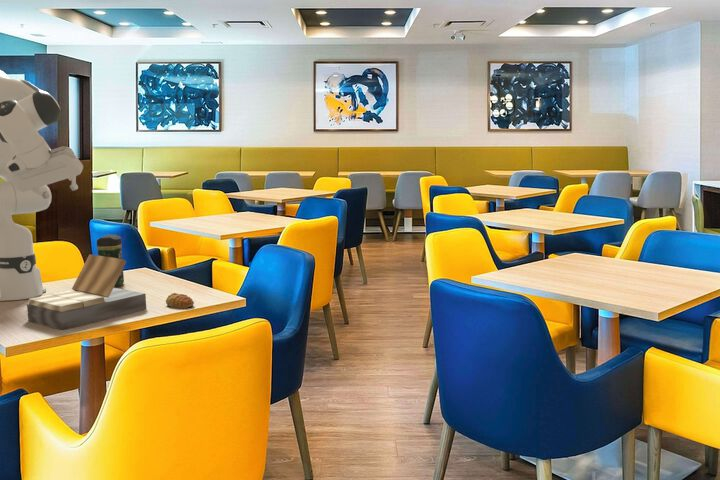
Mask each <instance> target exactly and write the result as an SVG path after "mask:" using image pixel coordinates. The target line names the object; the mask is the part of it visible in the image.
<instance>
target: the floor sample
mask: <svg viewBox="0 0 720 480" xmlns="http://www.w3.org/2000/svg"><path fill="white" fill-rule="evenodd" d="M145 310H147V295H146V292H140V291H139V292H138V291H134V290H128V289H123V288H117V287H114V288H113V290H112V292H111V294H110V296H109V298H107V297H103V296H98V295H93V294H88V293H83V292H78V291H75V290H73V289H71V290H67V291H61V292H55V293H51V294H47V295H40V296H36V297H32V298H28V304H26V312H27V321H28V322H30V323H34V324H39V325H42V326H46V327H49V328H52V329H57V330H59V331H65V330H68V329H73V328H76V327H80V326H85V325H89V324H92V323H97V322H101V321H105V320H109V319H112V318H117V317H120V316H126V315H129V314H133V313H137V312H141V311H145Z"/></svg>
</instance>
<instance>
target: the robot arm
mask: <svg viewBox="0 0 720 480" xmlns="http://www.w3.org/2000/svg"><path fill="white" fill-rule="evenodd" d="M61 115H62V111H61V107H60V105H59V103H58V101H57V100H56V99H55V97H54V96H52V95H51V93H49V92H47V91H44V90H42V89H40V88H39V87H37V86H36V85H34V84H32V83H31V82H30V81H27V80H26V79H22V78H21V79H19V78H18V79H17V78H16V79H15V78H10V76H9V75H8V74H7V73H5V72H4V71H3V70H1V69H0V179H2V180H3V182H0V302H2V301H3V302H4V301H19V300H25V299H31V298H36V297H40V296H42V295H43V294H44V293H45V292H47V288H46V287H43V281H42V277H41V276H42V275H41V274H42V273H41V270H40V268H38V266H37V265H36V264H37V257H36V254H35V252H34V242H33V241H34V240H33V234H32V231H31V230H30V228H28V227H26V226H24V225H21V224H18V223H15V221H14V220H13V217H12V215H21V214H23V215H24V214H34V213H37V212H42V211H45V210H47V209H48V208H49V207H50V206H51V205H50V204H51V203H52V198H53V197H52V192H51V189H50V187H49V186H48V185H51V184H54V183H57V182H59V181H65V180H69V181H70V182H71V183H70V185H69V188H70V189H71V191H72V192H73V191H76V190H78V189H79V186H78V184H77V181H76V180H77V176H80V175H81V173H82V172H83V169H84V164H83V163H82V162H81V161H80V159H79V158H78V157H77V156H76V155H75V152H74V151H73V149H72V148H71V147H68V146H65V145H61V146H59V147H55V148H53V149H51V147H50V145H49V144H48V143H47V141H46V140H45V138H44V136H42V135H41V134H40V133H39V131H40V130H42V129H44V128H46V127H49V126H52V125H54V124H57V123H59V120H60V117H61Z"/></svg>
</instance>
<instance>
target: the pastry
mask: <svg viewBox="0 0 720 480" xmlns="http://www.w3.org/2000/svg"><path fill="white" fill-rule="evenodd" d="M165 304H166V305H167V307H170V308H173V309H187V308H190V307H193V306H194V304H195V302H194V300H193V299H192V298H191V296H188V295H187V294H184V293H180V294H179V293H176V292H173V293H171V294H170V295H168V296H167V297H166V300H165Z"/></svg>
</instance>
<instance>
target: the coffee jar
mask: <svg viewBox="0 0 720 480" xmlns="http://www.w3.org/2000/svg"><path fill="white" fill-rule="evenodd" d="M122 247H123V245H122V237H121V236H120V235H118V234H106V235H104V236H101V237H99V238H97V239H96V249H97V255H98V256H105V257H112V258H119V259H123V249H122ZM124 283H125V277H124V268H123V269H122V271H121V273H120V275H119V278H118V280H117V282H116V284H115V286H114V288H117V287H120V286H121V285H123V284H124Z"/></svg>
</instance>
